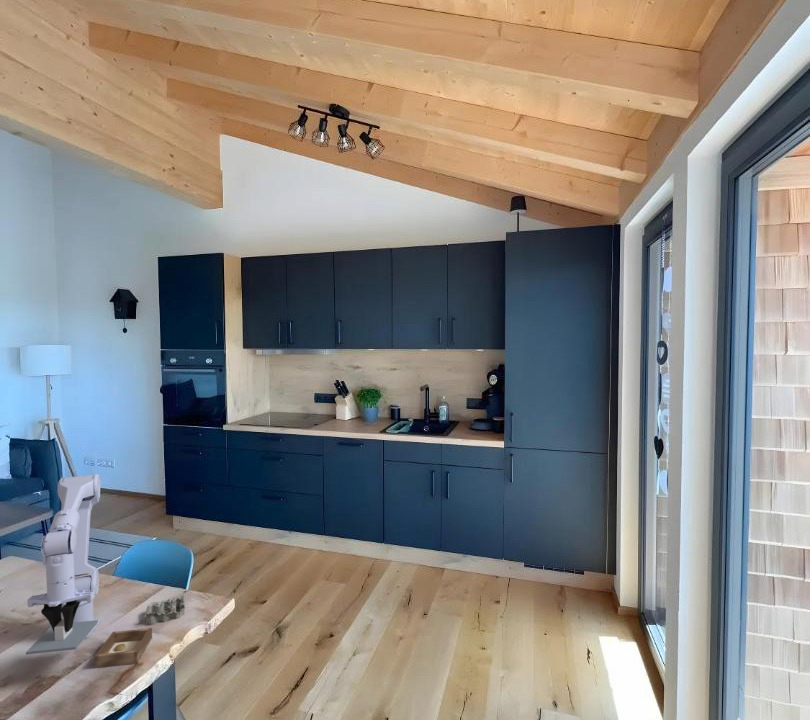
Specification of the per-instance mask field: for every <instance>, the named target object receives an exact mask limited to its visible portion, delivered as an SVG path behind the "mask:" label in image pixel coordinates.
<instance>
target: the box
mask: <svg viewBox="0 0 810 720" xmlns="http://www.w3.org/2000/svg"><path fill="white" fill-rule="evenodd" d="M152 639H153V629H152V627H148V628H147V627H146V628H139V629H130V630H128V629H127V630H119V631H118V630H117V631H112V632H111V634H110V635H109V637H108V638H107V639H106V640H105V642H104V644H103V645H101V647H100V648H99V649H98V651H97V653H96V654H95V656H94V666H95V667H94V669H98V668H107V667H115V666H117V667H118V666H123V665H124V666H125V665H126V666H127V665H134V664H133V663H136V664H139V662H138V661H140V660H141V659H142V657H141V656H143V655H144V653H145V652H146V650H147V649H148V646H149V645H150V643H151V641H152ZM142 654H143V655H142ZM139 659H140V660H139Z"/></svg>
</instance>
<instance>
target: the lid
mask: <svg viewBox="0 0 810 720" xmlns="http://www.w3.org/2000/svg"><path fill="white" fill-rule="evenodd" d="M98 620H99V619H94V621H84V622H73V626H72V628H71V629H70V630H69V632H65V628H64V618H63V619H62V620H61V621H60V622H59V623H58V624H57V625H56V626H55V627H54V632H55V633H54V632H53V629H52V627H51V626H50V627H48V629H46V631H45V632H44V633H43V634H42V635H41V636H40V637H39V638H38V639H37V640H36V641H35V642H34V643H33V644H32V645H31V646H30V647H29V648H28V649H27V650H26V651H25V655H33V654H34V655H35V654H36V655H37V654H42V653H43V654H45V653H55V652H64V651H72V650H77V649H78V648H79V646H80V645H81V644H82V643H83V641H84V640H85V639H87V638H86V636H87V635H88V634H89V633H90V632H91V630H92V629H93V628H94V627H95V625H96V624H97V623H98ZM95 628H96V627H95ZM91 633H92V632H91Z"/></svg>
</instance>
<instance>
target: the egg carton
mask: <svg viewBox="0 0 810 720" xmlns="http://www.w3.org/2000/svg"><path fill="white" fill-rule="evenodd" d="M177 608H179V611H177ZM166 609H167V610H166ZM185 609H186V606H185V596H184V594H183V595H180V596H178V597H176V598H174V597H173V599H171V598H169V599H166V600H162V601H153V602H152V603H150V604H148V605H147V606H146V610H145V615H144V617H145V623H146V625H149V626H154V625H156V623H159V622H163V623H166V622H168V621H170V620H171V619H176V620H179V619H181V617H183V616H185ZM164 611H167V613H165V612H164ZM154 612H155V613H154ZM158 621H159V622H158Z"/></svg>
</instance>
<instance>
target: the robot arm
mask: <svg viewBox="0 0 810 720" xmlns="http://www.w3.org/2000/svg"><path fill="white" fill-rule="evenodd" d="M101 485H102V484H101V476H100V474H98V473H94V474H88V475H77V476H70V477H66V476H65V477H64V476H63V477H60V479H59V481H58V483H57V496H58V498H59V500H60V503H61V510H59V511H58V512H56V513H55V514H54V516H53V519H52V523H51V525H50V528H49V531H48V533H46V535H43V536H42V539H41V543H40V553H41V557H42V560H43V563H42V564H43V565H45V575H46V577H45V578H46V593H41V594H37V595H32V596H30V597H29V598H28V599H27V600H26V601H27V608H32V607H34V606H42V605H43V608H42V609H41V610H40V611H41V615H43V616H44V617H45V619H46V620H47V622H48V623H49V624H50V627H52V629H53V632H54V627H55V626H56V625H57V624H58V623H59V622H60V621H61V620H62V619H63V618H64V628H65V632H69V630H70V629H71V628H72V626H73V622H84V621H94V620H95V617H94V615H95V613H94V599H95V598H96V596H97V595H98V593H99V587H100V579H99V578H100V577H99V570H98V568H97V567H95V566H93V565H91V564H90V563H89V562H88V561H89V548H90V547H89V545H90V531H91V515H92V514H91V513H92V509H93V507H94V505H96V504H98V503H99V502H100V499H101ZM97 620H98V623H97V624H96V625H95V627H94V628H93V629H92V630H91V632H90V633H89V634H88V635H87V636H86V638H85V639H87V638H88V637H89V636H90V635H91V634H92V632H93V631H94V630H95V629H96V627H97V626H98V625H99V623H101V619H97ZM54 633H55V632H54Z"/></svg>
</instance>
